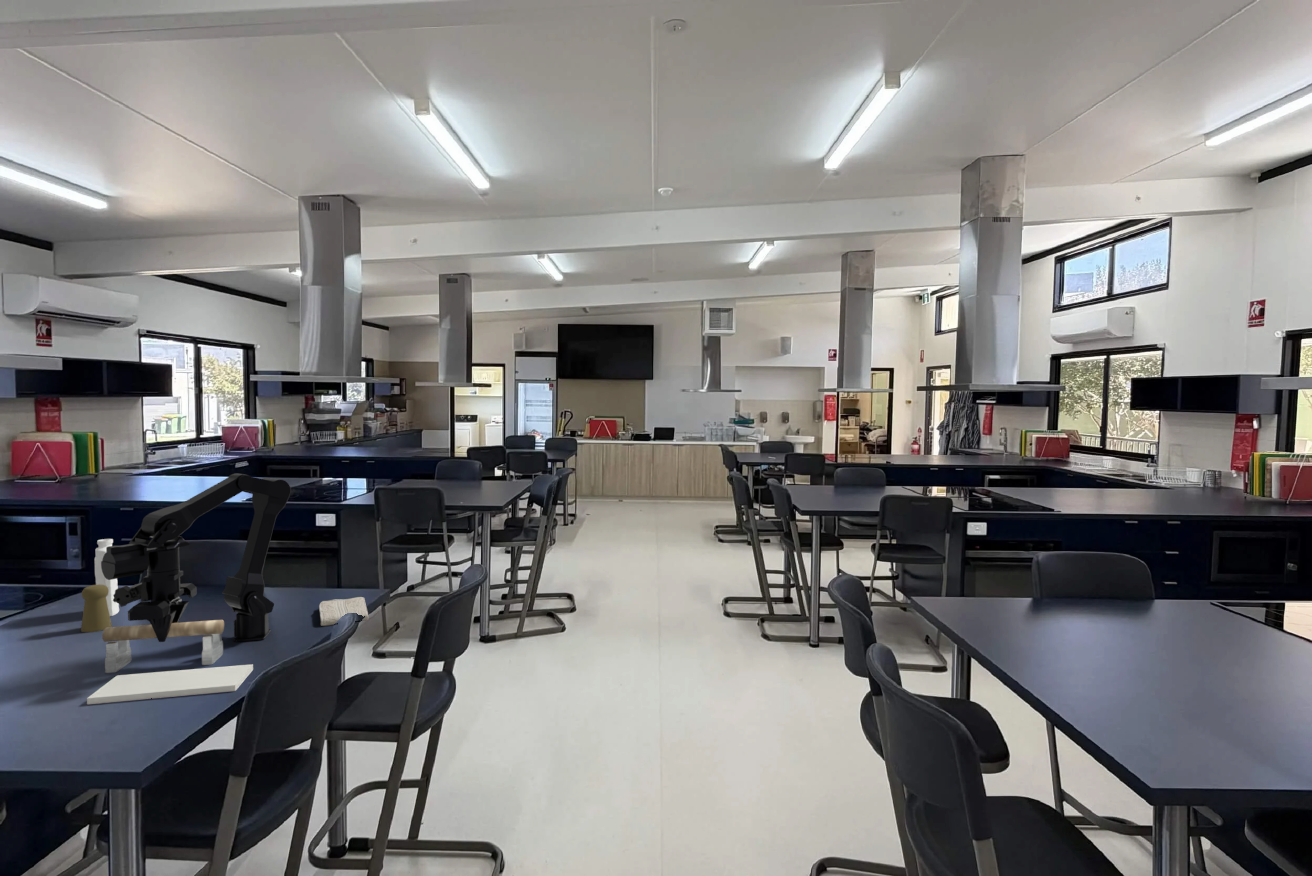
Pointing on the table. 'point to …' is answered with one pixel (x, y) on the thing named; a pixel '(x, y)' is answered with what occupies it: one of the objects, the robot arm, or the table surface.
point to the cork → (95, 609)
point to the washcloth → (341, 609)
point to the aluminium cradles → (121, 652)
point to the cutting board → (171, 684)
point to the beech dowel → (175, 631)
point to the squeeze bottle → (100, 578)
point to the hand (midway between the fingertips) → (165, 639)
